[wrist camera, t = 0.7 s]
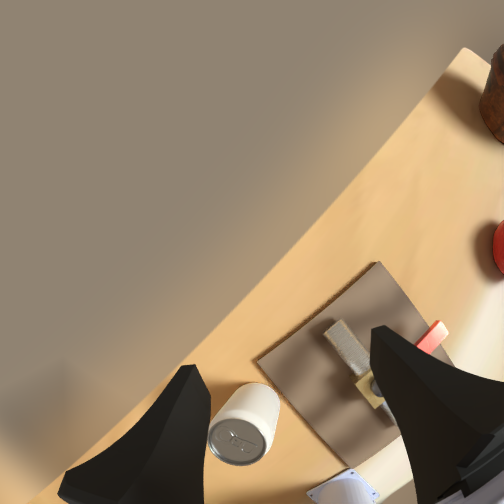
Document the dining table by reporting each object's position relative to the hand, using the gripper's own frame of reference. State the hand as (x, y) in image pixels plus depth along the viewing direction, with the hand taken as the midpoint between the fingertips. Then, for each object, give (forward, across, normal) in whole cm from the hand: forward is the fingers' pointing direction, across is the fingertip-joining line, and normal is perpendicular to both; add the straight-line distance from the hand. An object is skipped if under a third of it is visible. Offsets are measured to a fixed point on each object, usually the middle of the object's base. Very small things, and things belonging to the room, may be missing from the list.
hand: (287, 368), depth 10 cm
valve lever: (+11, -13, +16) cm, 24 cm away
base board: (+15, -10, +20) cm, 27 cm away
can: (+16, +5, +21) cm, 27 cm away
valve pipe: (+14, -10, +19) cm, 26 cm away
